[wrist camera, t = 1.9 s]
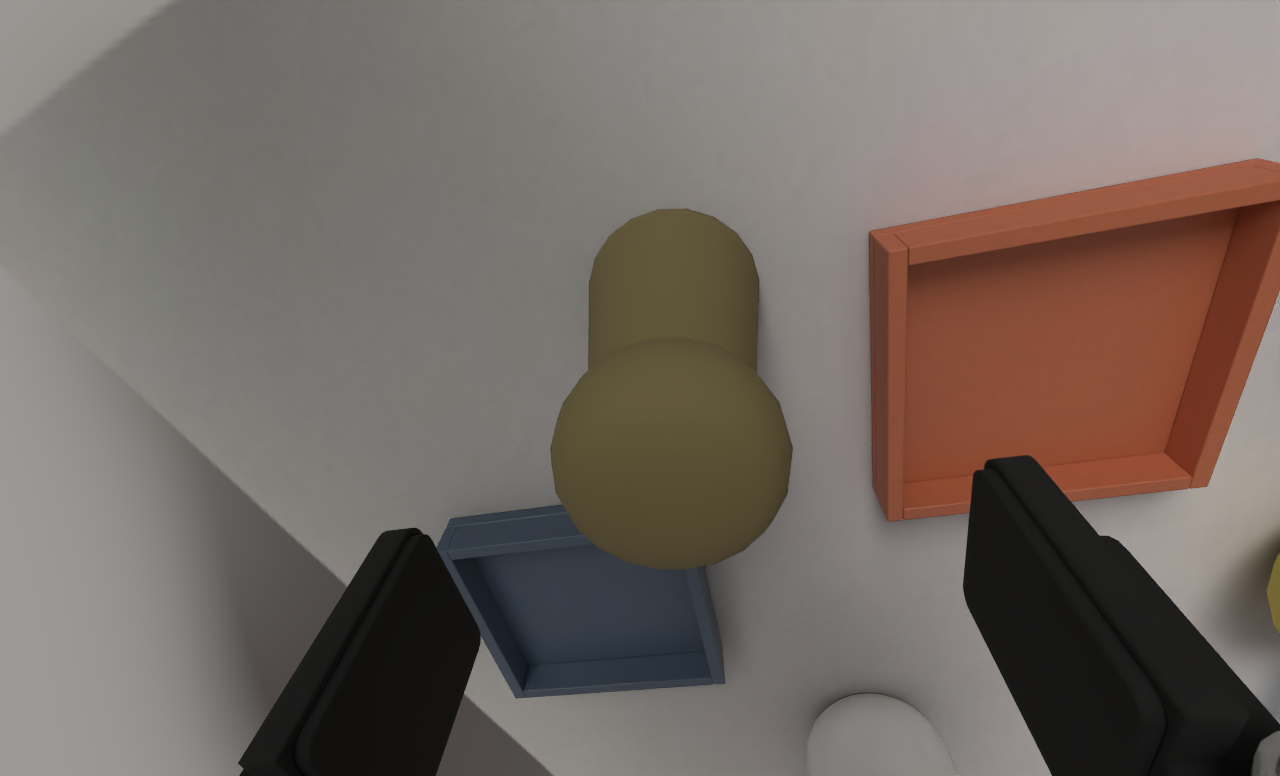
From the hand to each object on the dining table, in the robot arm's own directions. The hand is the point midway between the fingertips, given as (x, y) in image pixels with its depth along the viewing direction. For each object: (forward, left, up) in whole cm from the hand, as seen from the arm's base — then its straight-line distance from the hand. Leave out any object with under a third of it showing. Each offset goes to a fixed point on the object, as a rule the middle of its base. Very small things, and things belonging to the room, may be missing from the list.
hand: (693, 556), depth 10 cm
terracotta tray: (+12, -5, -12) cm, 18 cm away
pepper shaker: (-1, 0, -12) cm, 12 cm away
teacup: (+6, -29, -12) cm, 32 cm away
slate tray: (-7, -15, -12) cm, 20 cm away
